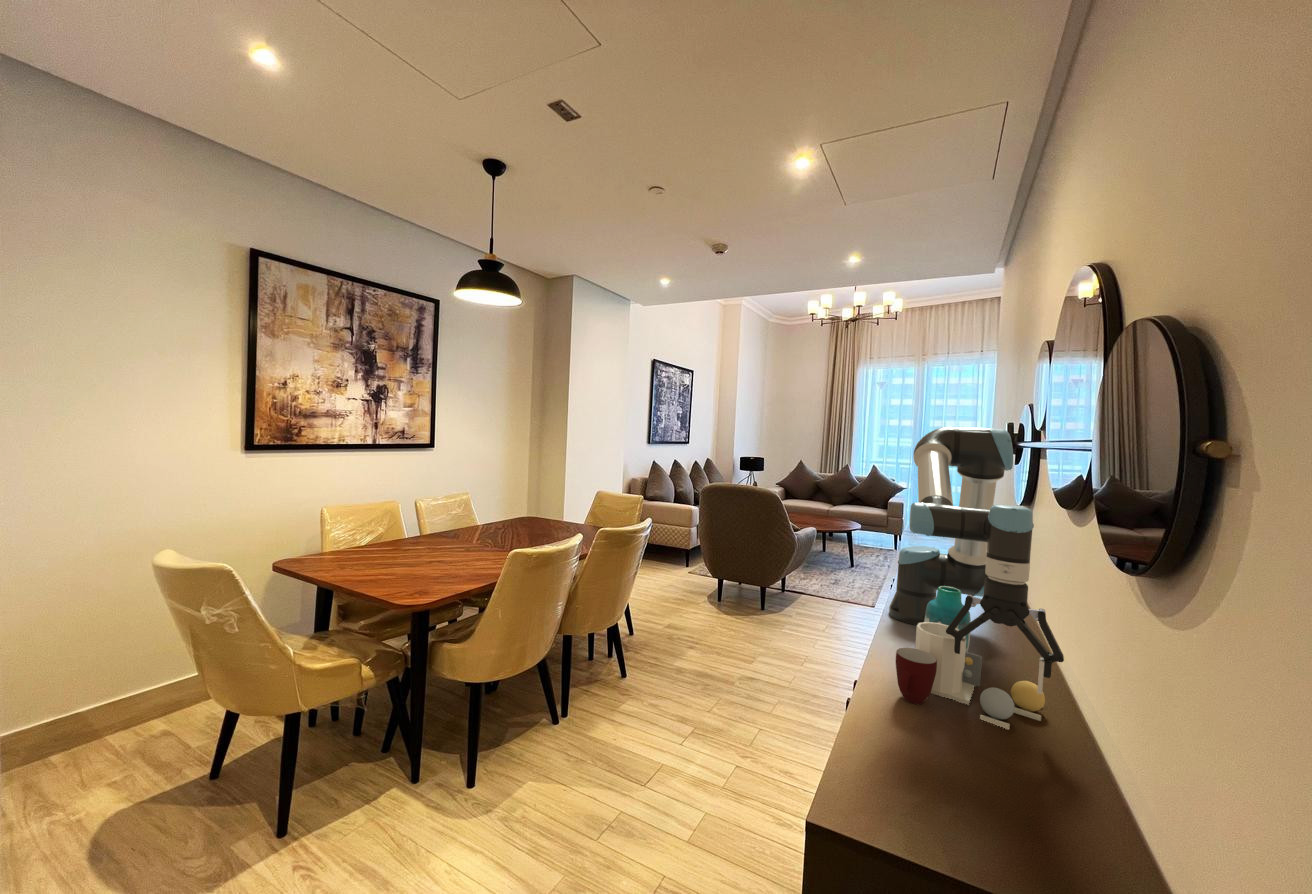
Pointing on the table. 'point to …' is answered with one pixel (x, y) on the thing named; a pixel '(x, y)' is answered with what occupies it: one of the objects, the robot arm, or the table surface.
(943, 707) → the table surface
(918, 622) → the robot arm
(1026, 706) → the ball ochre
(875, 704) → the table surface
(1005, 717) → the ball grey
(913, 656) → the mug
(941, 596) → the vase
